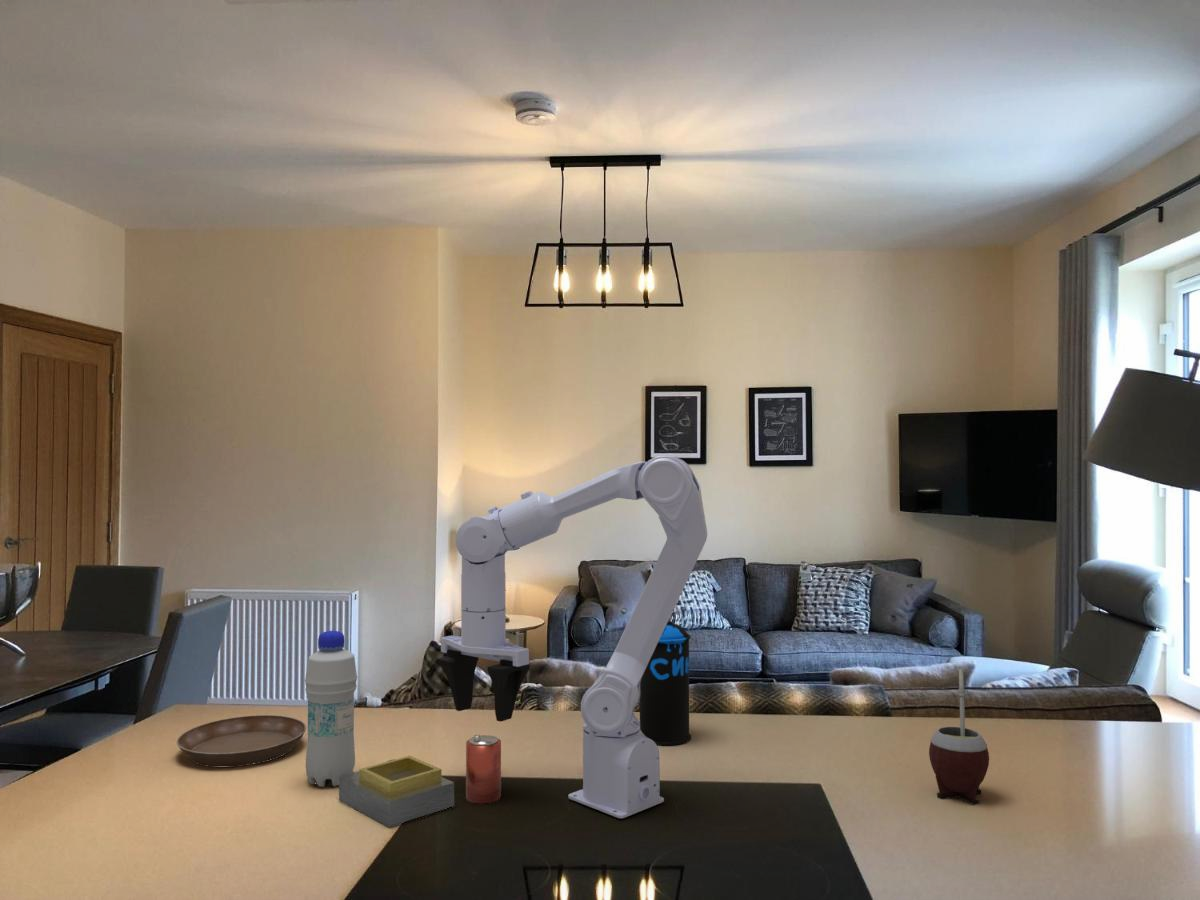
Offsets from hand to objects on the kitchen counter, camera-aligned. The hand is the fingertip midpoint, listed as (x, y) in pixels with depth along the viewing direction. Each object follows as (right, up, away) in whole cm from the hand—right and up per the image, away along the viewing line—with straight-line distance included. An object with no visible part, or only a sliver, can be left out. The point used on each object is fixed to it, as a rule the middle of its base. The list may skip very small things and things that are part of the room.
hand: (483, 714), depth 112 cm
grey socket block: (-10, -10, -4) cm, 15 cm away
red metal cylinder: (0, -10, -2) cm, 10 cm away
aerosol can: (+25, -11, +22) cm, 35 cm away
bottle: (-21, -10, +3) cm, 23 cm away
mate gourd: (+61, -10, -1) cm, 62 cm away
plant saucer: (-38, -11, +16) cm, 42 cm away
